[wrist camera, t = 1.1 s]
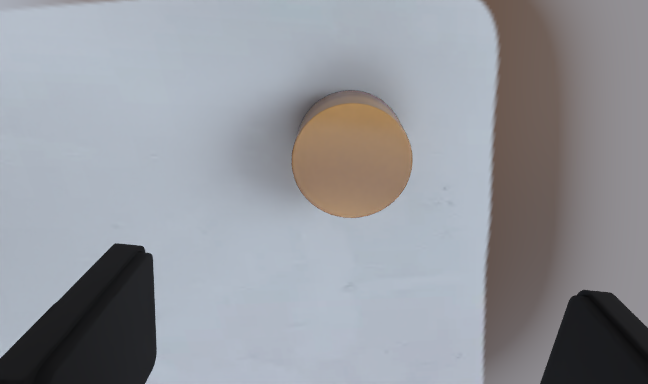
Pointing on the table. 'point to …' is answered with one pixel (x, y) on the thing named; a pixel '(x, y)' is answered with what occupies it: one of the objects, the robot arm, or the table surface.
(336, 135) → the copper brown cylinder
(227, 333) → the table surface
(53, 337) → the robot arm
